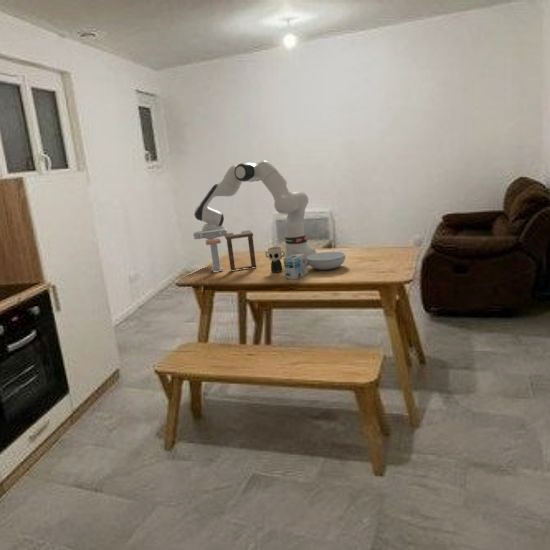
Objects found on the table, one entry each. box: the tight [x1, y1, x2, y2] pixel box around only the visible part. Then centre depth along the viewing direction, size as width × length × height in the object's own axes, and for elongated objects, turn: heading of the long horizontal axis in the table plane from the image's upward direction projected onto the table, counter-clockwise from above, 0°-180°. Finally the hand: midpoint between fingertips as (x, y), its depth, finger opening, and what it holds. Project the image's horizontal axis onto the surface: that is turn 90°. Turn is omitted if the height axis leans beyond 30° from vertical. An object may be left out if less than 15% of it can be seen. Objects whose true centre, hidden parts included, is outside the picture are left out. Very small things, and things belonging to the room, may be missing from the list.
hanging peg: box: [205, 238, 224, 272], centre depth 280 cm, size 8×8×18 cm
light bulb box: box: [282, 254, 308, 280], centre depth 249 cm, size 11×7×11 cm, turn 143°
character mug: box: [264, 246, 285, 273], centre depth 264 cm, size 11×7×13 cm, turn 73°
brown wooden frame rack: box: [223, 229, 257, 271], centre depth 281 cm, size 14×15×20 cm
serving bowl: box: [306, 251, 346, 271], centre depth 260 cm, size 21×21×7 cm
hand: (211, 235), depth 290 cm, fingers open, 8 cm apart
